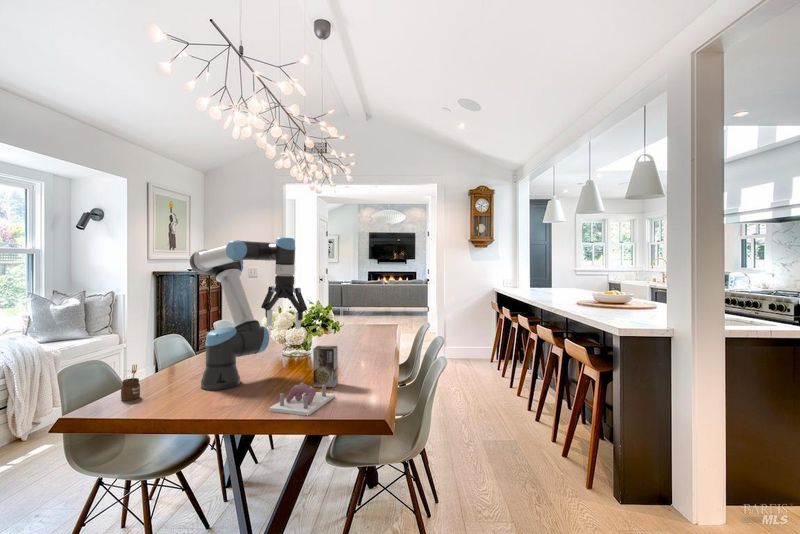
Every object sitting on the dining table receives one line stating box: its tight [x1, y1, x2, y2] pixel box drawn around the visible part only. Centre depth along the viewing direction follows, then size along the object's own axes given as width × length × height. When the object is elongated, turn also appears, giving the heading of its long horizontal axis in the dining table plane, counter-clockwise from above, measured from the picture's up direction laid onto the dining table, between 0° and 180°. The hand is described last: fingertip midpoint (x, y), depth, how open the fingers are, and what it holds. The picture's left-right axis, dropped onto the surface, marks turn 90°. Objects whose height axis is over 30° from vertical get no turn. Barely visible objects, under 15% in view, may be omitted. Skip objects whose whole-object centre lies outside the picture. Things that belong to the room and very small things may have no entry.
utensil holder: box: [120, 364, 141, 402], centre depth 147 cm, size 6×6×12 cm
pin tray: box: [268, 382, 335, 417], centre depth 142 cm, size 15×20×5 cm
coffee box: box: [312, 345, 339, 388], centre depth 165 cm, size 9×6×16 cm
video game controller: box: [285, 383, 317, 405], centre depth 141 cm, size 10×5×7 cm, turn 72°
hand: (283, 327), depth 160 cm, fingers open, 13 cm apart
